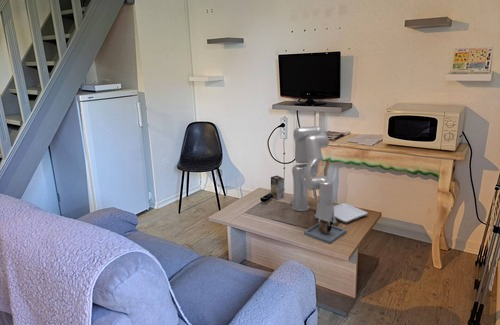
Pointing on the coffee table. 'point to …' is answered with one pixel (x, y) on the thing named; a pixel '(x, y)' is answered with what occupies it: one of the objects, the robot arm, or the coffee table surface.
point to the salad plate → (347, 212)
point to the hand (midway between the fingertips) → (325, 229)
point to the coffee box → (277, 187)
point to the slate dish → (324, 237)
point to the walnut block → (323, 226)
